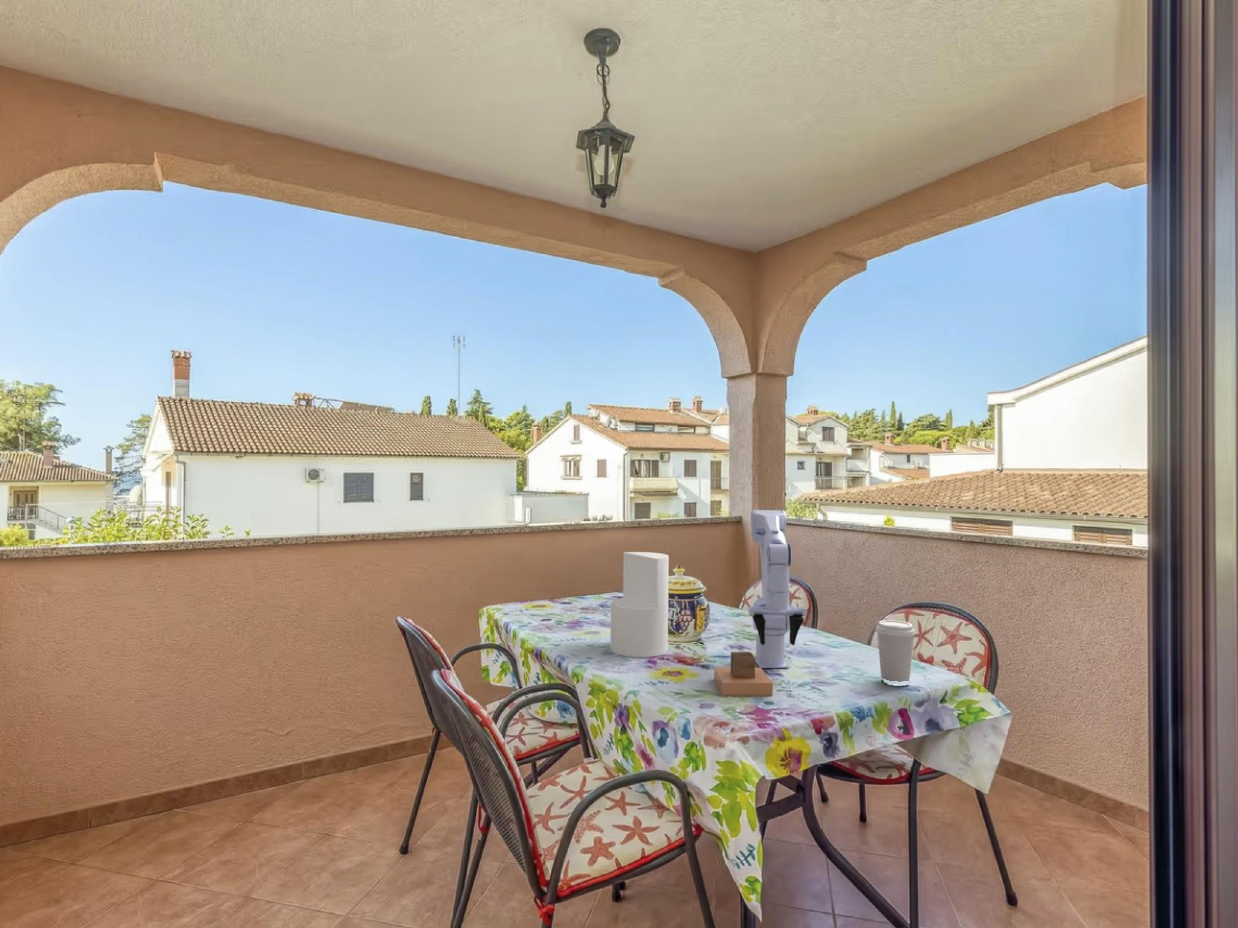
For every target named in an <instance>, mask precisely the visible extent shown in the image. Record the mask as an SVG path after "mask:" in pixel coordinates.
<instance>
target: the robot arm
mask: <svg viewBox="0 0 1238 928" xmlns="http://www.w3.org/2000/svg"><path fill="white" fill-rule="evenodd" d="M786 528H787V514H786V511H785V510H784V509H779V510H776V509H775V510H772V509H771V510H770V509H769V510H768V509H767V510H766V509H765V510H764V509H762V510H761V509H752V510H751V512H750V529H751V530H750V531H751V533H750V534H751V538H752V540H753V541H754V542H756V543H757V544H758V547H759V552H760V568H761V569H760V570H761V573H760V574H761V590H762V591H761V592H762V595H761V596H760V597H759V598H758V599H757V600H755V601H754V602H753V606H748V615H749V617H751V618H752V625H753V626H752V627H753V629H754V630H755V631H757V634H756V637H755V640H756V641H755V642H756V643H755V645H756V646H755V656H754V655H753V656H754V657H755V664H757V666H758V668H761V669H789V668H790V666H789V665H788V664H787V662H786V661H785V654H786V653H785V650H786V649H785V646H786V645H785V644H786V643H785V641H786V640H785V638H786V637H785V635H786V634H787V632H789V644H790V645H791V646H795V645H796V639H797V636H798V634H799V631H800V628H801V627H802V625H803V623H804V617H807V616H808V615H807V614H808V611H807V610H808V609H807V608H806V607H803V606H791V605H790V567H791V566H792V559H793V551H792V547H791V544H790V542H789V543H788V542H787V540H786V536H785V535H786Z"/></svg>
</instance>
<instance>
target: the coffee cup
mask: <svg viewBox="0 0 1238 928" xmlns="http://www.w3.org/2000/svg"><path fill="white" fill-rule="evenodd" d="M874 631H875V632H877V642H878V643H877V645H878V654H879V655H878V657H879V668H880V678H881V677H882V678H883V679H886V680H889V681H898V682H901V681H902V682H903V681H909V679H911V668H912V659H913V658H912V657H913V649H914V648H913V647H914V638H915V636H916V635H917V633H916V629H915V628H914V626H913V624H912V623H910V622H907V621H902V620H895V619H894V620H893V619H884V620H880V621H878V622H877V625H876V627H875V629H874ZM909 682H910V681H909Z"/></svg>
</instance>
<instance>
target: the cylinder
mask: <svg viewBox="0 0 1238 928" xmlns="http://www.w3.org/2000/svg"><path fill="white" fill-rule="evenodd" d="M669 557H670V556H669V555H668V554H665V553H660V552H650V551H648V552H647V551H625V552H623V564H622V565H623V568H622V569H623V577H622V578H623V579H622V581H623V583H622V584H623V586H622V590H623V591H622V594H623V595H622V597H621V598H615V599H613V600H611V601H610V647H609V649H610V651H611V652H613V653H614V654H616V653H617V654H616V655H620V656H623V657H630V658H631V657H632V658H650V657H651V658H652V657H658V656H660V655H661V656H662V655H664V654H666V653H668V651H669V570H670V569H669V565H670V564H669V563H670V562H669V561H670V560H669V559H670V558H669Z"/></svg>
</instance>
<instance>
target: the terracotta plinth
mask: <svg viewBox="0 0 1238 928" xmlns="http://www.w3.org/2000/svg"><path fill="white" fill-rule="evenodd" d="M713 668H714V669H713V671H714V672H713V676H714V677H713V679H714V682H715V684H716V685H717V688H718V690H719V692H720V694H721V696H732V697H733V696H748V697H749V696H752V697H753V696H755V697H759V696H761V697H763V696H765V697H767V696H770V697H772V696H773V691H774V689H773V687H774V686H773V682H772V680H771V679H770V677H768V675H767V674H766V673H765V671H764V670H763V668H760V667H755V678H734V677H733V675H732V673H731V667H717V666H716V667H713Z"/></svg>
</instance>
